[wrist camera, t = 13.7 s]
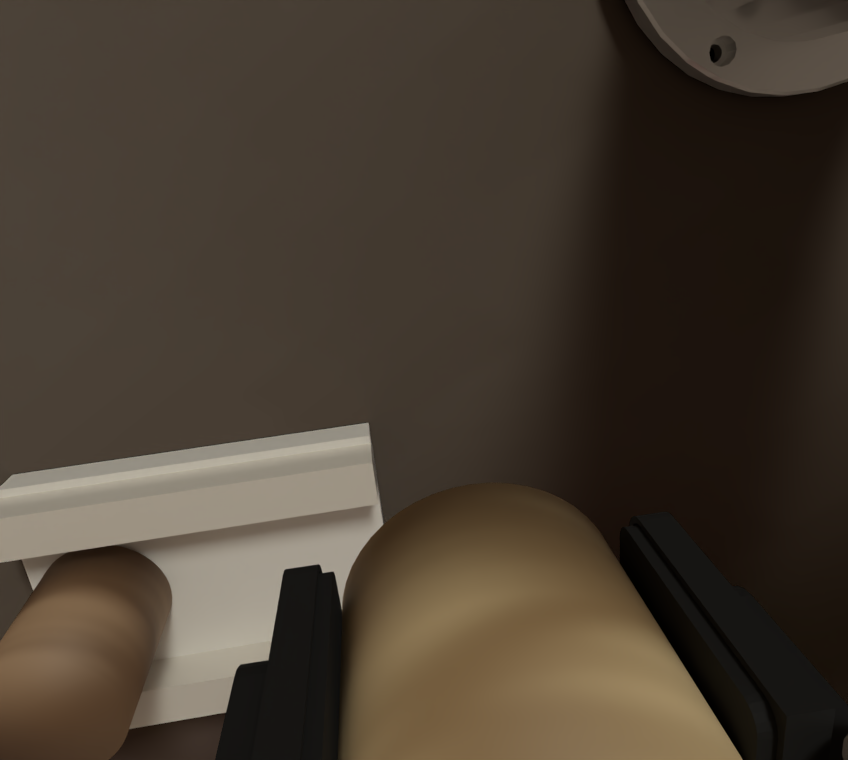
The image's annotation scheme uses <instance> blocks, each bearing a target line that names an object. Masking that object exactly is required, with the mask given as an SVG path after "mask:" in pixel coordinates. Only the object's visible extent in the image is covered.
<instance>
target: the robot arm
mask: <svg viewBox="0 0 848 760" xmlns="http://www.w3.org/2000/svg"><path fill="white" fill-rule="evenodd" d="M625 2H626V4H627V6H628V8H629V10H630V12H631V13H632V15H633V17H634V19H635V21H636V23H637V25H638V26H639V27H640V29H641V30H642V31H643V32H644V33H645V35H646V36H647V37H648V38H649V39H650V41H651V42H652V43H653V44H654V46H655V47H656V48H657V49H658V50H659V52H660V53H661V54H662V55H663V56H665V57H666V58H667V59H669V60H670V61H671V62H672V63H674V64H675V65H676V66H677V67H679V68H680V69H681V70H682V71H684V72H685V73H686V74H687V75H689V76H691V77H693V78H695V79H697V80H699V81H702V82H704V83H706V84H708V85H710V86H712V87H714V88H716V89H718V90H722V91H727V92H731V93H736V94H741V95H745V96H750V97H784V96H791V95H797V94H803V93H809V92H817V91H821V90H824V89H827V88H830V87H833V86H836V85H839V84H842V83H845V82H848V0H625ZM710 48H712V49H713V50H714V54H715V56H714V59H713V61H711V59H710V54H709V52H710ZM620 564H621V566H622V568H623V569H624V571H625V572H626V574H627V576H628V577H629V579H630V580H631V582H632V584H633V585H634V587H635V588H636V590H637V592H638V593H639V595H640V596H641V598H642V600H643V601H644V603H645V604H646V606H647V608H648V609H649V611H650V612H651V614H652V616H653V617H654V619H655V620H656V622H657V624H658V625H659V627H660V628H661V630H662V632H663V633H664V635H665V636H666V638H667V639H668V641H669V643H670V644H671V646H672V647H673V649H674V651H675V652H676V654H677V655H678V657H679V659H680V660H681V662H682V663H683V665H684V667H685V668H686V670H687V671H688V673H689V675H690V676H691V678H692V679H693V681H694V683H695V684H696V686H697V687H698V689H699V691H700V692H701V694H702V695H703V697H704V699H705V700H706V702H707V703H708V705H709V707H710V708H711V710H712V711H713V713H714V714H715V716H716V718H717V719H718V721H719V722H720V724H721V726H722V727H723V729H724V730H725V732H726V734H727V735H728V737H729V738H730V740H731V742H732V743H733V745H734V746H735V748H736V750H737V751H738V753H739V754H740V756H741V758H742V759H743V760H848V705H847V704H846V703H845V702H844V700H843V699H842V698H841V697H840V696H839V695H838V694H837V692H836V691H835V690H834V689H833V688H832V687H831V686H830V684H829V683H828V682H827V681H826V680H825V679H824V678H823V676H822V675H821V674H820V673H819V672H818V671H817V670H816V668H815V667H814V666H813V665H812V664H811V663H810V662H809V660H808V659H807V658H806V657H805V656H804V655H803V653H802V652H801V651H800V650H799V649H798V648H797V647H796V645H795V644H794V643H793V642H792V641H791V640H790V639H789V637H788V636H787V635H786V634H785V633H784V632H783V631H782V629H781V628H780V627H779V626H778V625H777V624H776V623H775V621H774V620H773V619H772V618H771V617H770V616H769V615H768V613H767V612H766V611H765V610H764V609H763V608H762V607H761V605H760V604H759V603H758V602H757V601H756V600H755V599H754V597H753V596H752V595H751V594H750V593H749V592H747V591H746V590H745V589H744V588H742V587H739V586H731V584H730V583H729V582H728V581H727V580H726V578H725V577H724V576H723V575H722V574H721V573H720V571H719V570H718V569H717V568H716V567H715V566H714V564H713V563H712V562H711V561H710V560H709V558H708V557H707V556H706V555H705V554H704V553H703V551H702V550H701V549H700V548H699V547H698V545H697V544H696V543H695V542H694V541H693V540H692V538H691V537H690V536H689V535H688V534H687V533H686V531H685V530H684V529H683V528H682V527H681V525H680V524H679V523H678V522H677V521H676V520H675V518H674V517H673V516H672V515H671V514H670V513H669V512H659V513H653V514H646V515H640V516H633V517H632V518H631V520H630V526H628V527H623V528H621V531H620ZM341 636H342V609H341V603H340V598H339V593H338V587H337V582H336V577H335V574H334V572H326V573H322V569H321V566H320V565H319V564H317V565H310V566H304V567H297V568H290V569H285V570H284V573H283V577H282V583H281V589H280V595H279V601H278V606H277V612H276V618H275V624H274V630H273V636H272V642H271V647H270V653H269V659H268V660H266V661H260V662H253V663H247V664H241V665H240V666H239V667H238V668H237V670H236V673H235V676H234V680H233V685H232V689H231V693H230V698H229V702H228V706H227V711H226V715H225V719H224V724H223V728H222V732H221V737H220V741H219V746H218V750H217V754H216V759H215V760H338V735H339V702H340V669H341Z"/></svg>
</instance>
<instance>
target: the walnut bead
mask: <svg viewBox="0 0 848 760" xmlns="http://www.w3.org/2000/svg"><path fill="white" fill-rule="evenodd" d="M171 605H172V592H171V588H170V584H169V582H168V580H167V578H166V576H165V575H164V573H163V572H162V570H161V569H160V568H159V567H158V566H157V565H156V564H155V563H154V562H152V561H151V560H150V559H148V558H147V557H145V556H144V555H142V554H140V553H138V552H136V551H133V550H131V549H128V548H124V547H121V546H115V545H111V546H105V547H98V548H92V549H85V550H79V551H72V552H67V553H65V554H64V555H62V556H61V557H59V558H58V559H56V560H55V561H54V562H53V563H52V564H51V566H50V567H49V568H48V570H47V571H46V572H45V574H44V575H43V577H42V579H41V580H40V582H39V583H38V585H37V586H36V588H35V589H34V591H33V592H32V594H31V595H30V597H29V598H28V600H27V601H26V603H25V604H24V606H23V608H22V609H21V611H20V612H19V614H18V615H17V617H16V618H15V620H14V621H13V623H12V624H11V626H10V627H9V629H8V630H7V632H6V634H5V635H4V637H3V638H2V640H1V641H0V760H109V759H110V758H111V757H112V756H113V755H115V754H116V752H117V751H118V750H119V749H120V748H121V746H122V744H123V743H124V741H125V738H126V736H127V733H128V731H129V728H130V725H131V722H132V719H133V716H134V713H135V710H136V707H137V705H138V702H139V699H140V696H141V693H142V690H143V687H144V684H145V682H146V679H147V676H148V673H149V670H150V667H151V664H152V661H153V659H154V656H155V653H156V650H157V647H158V644H159V641H160V638H161V635H162V633H163V630H164V627H165V624H166V621H167V618H168V615H169V612H170V609H171Z"/></svg>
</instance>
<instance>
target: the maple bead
mask: <svg viewBox="0 0 848 760" xmlns="http://www.w3.org/2000/svg"><path fill="white" fill-rule="evenodd" d="M338 760H743V759H742V758H741V756H740V754H739V753H738V751H737V750H736V748H735V746H734V745H733V743H732V742H731V740H730V738H729V737H728V735H727V734H726V732H725V730H724V729H723V727H722V726H721V724H720V722H719V721H718V719H717V718H716V716H715V714H714V713H713V711H712V710H711V708H710V707H709V705H708V703H707V702H706V700H705V699H704V697H703V695H702V694H701V692H700V691H699V689H698V687H697V686H696V684H695V683H694V681H693V679H692V678H691V676H690V675H689V673H688V671H687V670H686V668H685V667H684V665H683V663H682V662H681V660H680V659H679V657H678V655H677V654H676V652H675V651H674V649H673V647H672V646H671V644H670V643H669V641H668V639H667V638H666V636H665V635H664V633H663V632H662V630H661V628H660V627H659V625H658V624H657V622H656V620H655V619H654V617H653V616H652V614H651V612H650V611H649V609H648V608H647V606H646V604H645V603H644V601H643V600H642V598H641V596H640V595H639V593H638V592H637V590H636V588H635V587H634V585H633V584H632V582H631V580H630V579H629V577H628V576H627V574H626V572H625V571H624V569H623V568H622V566H621V564H620V563H619V561H618V560H617V558H616V557H615V555H614V553H613V552H612V550H611V549H610V547H609V545H608V544H607V542H606V541H605V539H604V537H603V536H602V534H601V533H600V531H599V530H598V528H597V527H596V526H595V525H594V524H593V523H592V522H591V521H590V519H589V518H588V517H587V516H585V515H584V514H583V513H582V512H581V511H579V510H578V509H577V508H576V507H574V506H573V505H571V504H570V503H568V502H566V501H565V500H563V499H561V498H559V497H557V496H555V495H552V494H550V493H548V492H545V491H542V490H539V489H535V488H532V487H528V486H523V485H516V484H510V483H481V484H470V485H465V486H460V487H455V488H450V489H447V490H444V491H441V492H438V493H435V494H432V495H430V496H428V497H426V498H424V499H421V500H419V501H417V502H415V503H413V504H412V505H410V506H408V507H407V508H405V509H403V510H402V511H400V512H399V513H397V514H396V515H395V516H393V517H392V518H391V519H390V520H388V521H387V522H386V523H385V524H383V525H382V526H381V527H380V528H379V530H378V531H377V532H376V533H375V534H374V535H373V536H372V537H371V538H370V539H369V540H368V542H367V543H366V544H365V546H364V547H363V548H362V550H361V551H360V553H359V555H358V556H357V558H356V560H355V562H354V564H353V565H352V567H351V570H350V573H349V575H348V578H347V581H346V584H345V589H344V594H343V601H342V636H341V669H340V702H339V735H338Z"/></svg>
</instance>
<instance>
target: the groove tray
mask: <svg viewBox="0 0 848 760" xmlns="http://www.w3.org/2000/svg"><path fill="white" fill-rule="evenodd" d="M383 524H384V520H383V513H382V507H381V500H380V494H379V487H378V481H377V474H376V467H375V461H374V454H373V448H372V441H371V435H370V428H369V423H364V424H357V425H350V426H343V427H336V428H329V429H322V430H316V431H309V432H302V433H295V434H288V435H281V436H275V437H268V438H261V439H254V440H247V441H240V442H234V443H227V444H220V445H213V446H206V447H199V448H193V449H186V450H179V451H172V452H165V453H158V454H152V455H145V456H138V457H131V458H124V459H117V460H110V461H104V462H97V463H90V464H83V465H76V466H69V467H63V468H56V469H49V470H42V471H35V472H28V473H22V474H15V475H12V476H11V477H10V478H9V479H8V480H7V481H6V482H5V483H3V484H2V485H1V486H0V563H1V562H7V561H14V560H20V559H22V562H23V565H24V567H25V570H26V573H27V575H28V578H29V581H30V583H31V586H32V589H33V591H34V589H35V588H36V586H37V585H38V583H39V582H40V580H41V579H42V577H43V575H44V574H45V572H46V571H47V570H48V568H49V567H50V566H51V564H52V563H53V562H54V561H55V560H56V559H58V558H59V557H61V556H62V555H64V554H65V553H67V552H72V551H79V550H85V549H92V548H98V547H105V546H111V545H115V546H121V547H124V548H128V549H131V550H133V551H136V552H138V553H140V554H142V555H144V556H145V557H147V558H148V559H150V560H151V561H152V562H154V563H155V564H156V565H157V566H158V567H159V568H160V569H161V570H162V572H163V573H164V575H165V576H166V578H167V580H168V582H169V584H170V588H171V592H172V605H171V609H170V612H169V615H168V618H167V621H166V624H165V627H164V630H163V633H162V635H161V638H160V641H159V644H158V647H157V650H156V653H155V656H154V659H153V661H152V664H151V667H150V670H149V673H148V676H147V679H146V682H145V684H144V687H143V690H142V693H141V696H140V699H139V702H138V705H137V707H136V710H135V713H134V716H133V719H132V722H131V725H130V728H129V729H133V728H139V727H144V726H150V725H156V724H162V723H167V722H173V721H179V720H185V719H191V718H196V717H202V716H208V715H214V714H220V713H225V712H226V711H227V706H228V702H229V698H230V693H231V689H232V685H233V680H234V676H235V673H236V670H237V668H238V667H239V666H240V665H241V664H247V663H253V662H260V661H266V660H268V659H269V653H270V647H271V642H272V636H273V630H274V624H275V618H276V612H277V606H278V601H279V595H280V589H281V583H282V577H283V573H284V570H285V569H290V568H297V567H304V566H310V565H317V564H319V565H320V566H321V569H322V573H326V572H334V574H335V577H336V582H337V587H338V593H339V598H340V603H341V609H342V601H343V594H344V589H345V584H346V581H347V578H348V575H349V573H350V570H351V567H352V565H353V564H354V562H355V560H356V558H357V556H358V555H359V553H360V551H361V550H362V548H363V547H364V546H365V544H366V543H367V542H368V540H369V539H370V538H371V537H372V536H373V535H374V534H375V533H376V532H377V531H378V530H379V528H380V527H381V526H382V525H383Z"/></svg>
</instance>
